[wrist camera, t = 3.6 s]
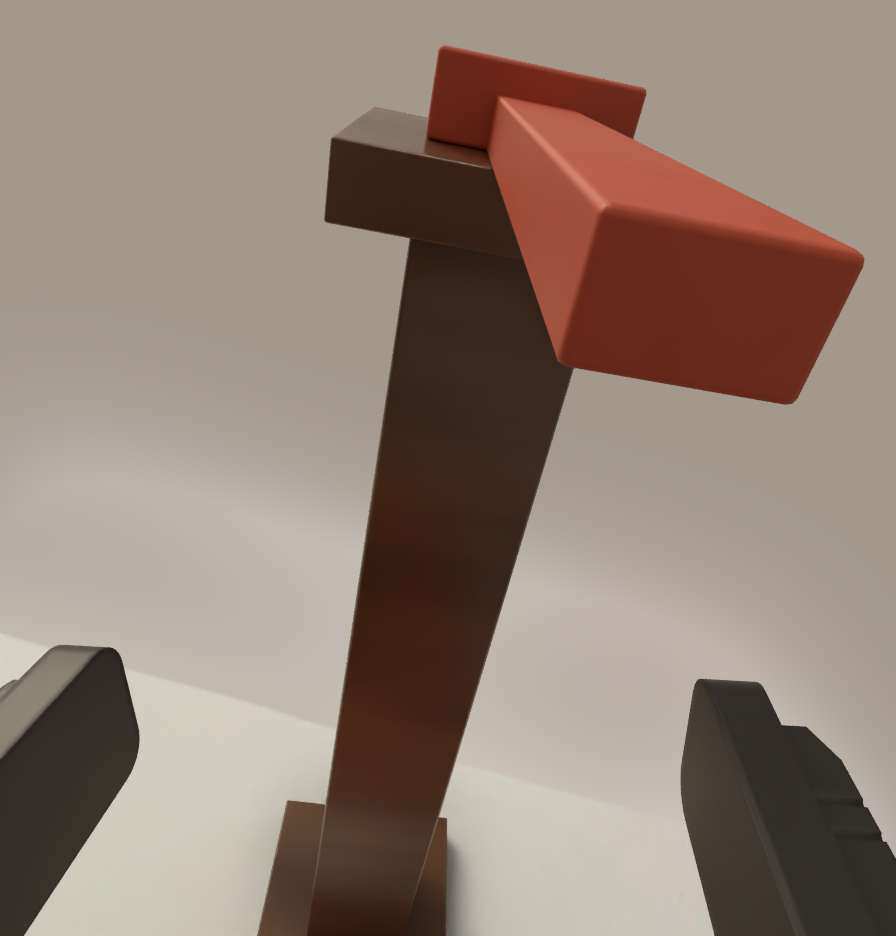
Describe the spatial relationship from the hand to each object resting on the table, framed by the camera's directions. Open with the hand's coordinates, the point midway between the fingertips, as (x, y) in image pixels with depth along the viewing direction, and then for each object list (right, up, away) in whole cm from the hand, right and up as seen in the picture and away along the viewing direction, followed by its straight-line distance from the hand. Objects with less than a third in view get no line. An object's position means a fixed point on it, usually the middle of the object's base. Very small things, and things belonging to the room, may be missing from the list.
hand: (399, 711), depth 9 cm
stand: (-3, -17, +22) cm, 27 cm away
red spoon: (+2, +8, +2) cm, 8 cm away
